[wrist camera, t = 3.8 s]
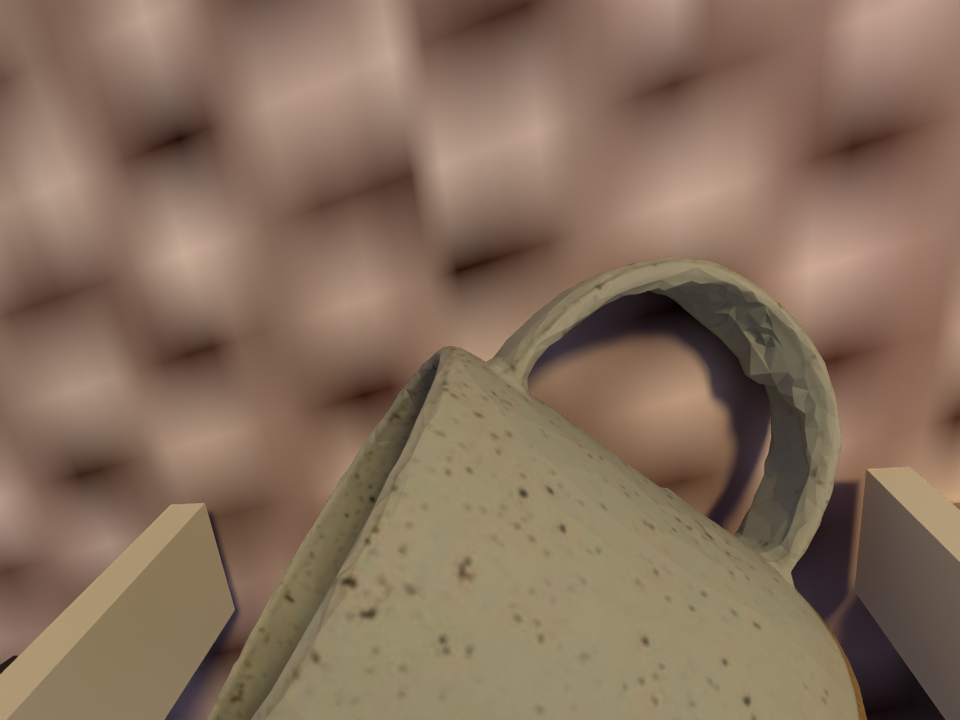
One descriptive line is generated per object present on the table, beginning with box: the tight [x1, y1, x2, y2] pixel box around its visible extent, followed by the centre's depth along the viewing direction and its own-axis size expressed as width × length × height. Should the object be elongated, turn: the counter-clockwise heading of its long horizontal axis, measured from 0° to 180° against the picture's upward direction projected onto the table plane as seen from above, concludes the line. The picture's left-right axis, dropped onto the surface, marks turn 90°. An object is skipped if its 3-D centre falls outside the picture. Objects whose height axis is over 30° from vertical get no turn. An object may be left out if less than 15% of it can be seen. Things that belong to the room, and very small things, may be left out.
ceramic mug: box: [207, 257, 867, 720], centre depth 10 cm, size 11×8×8 cm
